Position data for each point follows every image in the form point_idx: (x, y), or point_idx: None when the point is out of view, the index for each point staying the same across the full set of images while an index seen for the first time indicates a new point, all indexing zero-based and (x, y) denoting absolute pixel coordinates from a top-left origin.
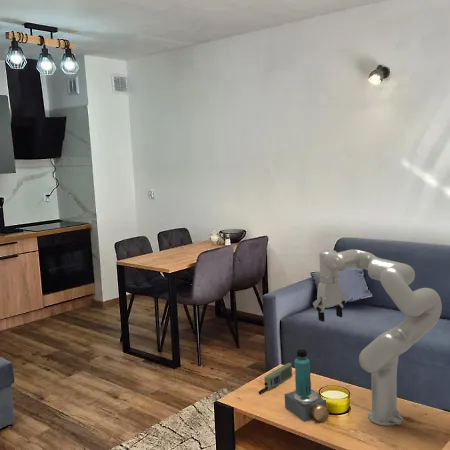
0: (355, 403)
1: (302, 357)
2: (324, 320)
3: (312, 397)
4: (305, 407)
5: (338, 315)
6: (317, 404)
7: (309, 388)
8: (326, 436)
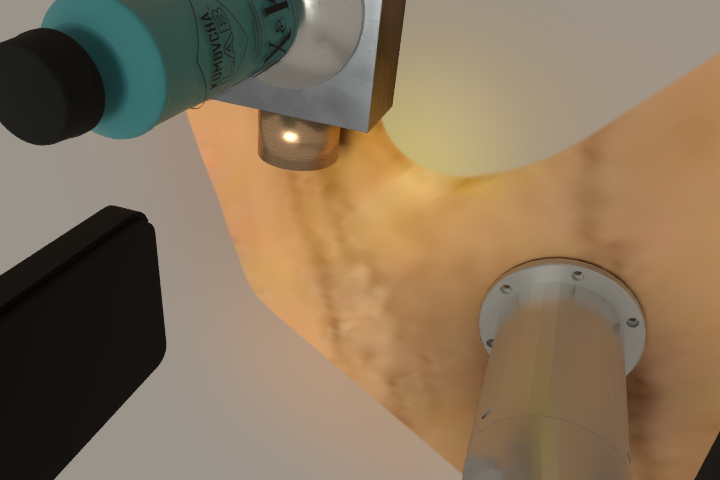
0: (605, 138)
1: (98, 59)
2: (154, 368)
3: (301, 56)
4: (214, 98)
5: (716, 465)
6: (281, 127)
7: (241, 81)
8: (248, 224)
